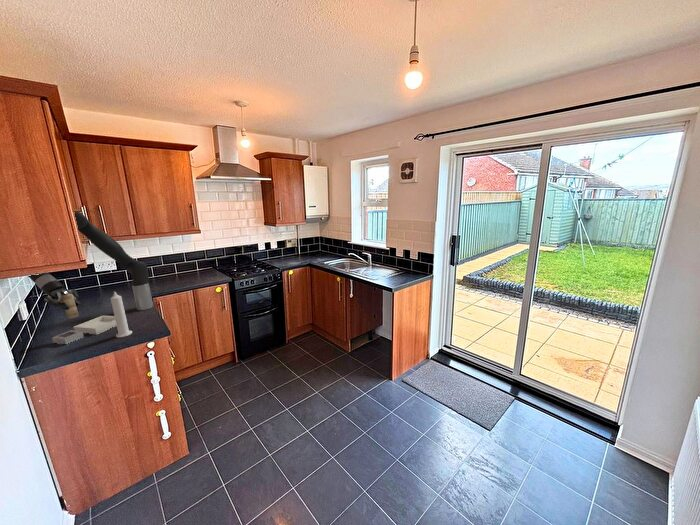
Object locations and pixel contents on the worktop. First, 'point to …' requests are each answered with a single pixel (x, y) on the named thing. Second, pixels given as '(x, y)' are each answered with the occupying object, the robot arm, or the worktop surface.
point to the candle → (120, 316)
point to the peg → (70, 306)
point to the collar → (68, 337)
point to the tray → (97, 325)
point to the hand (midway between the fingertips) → (73, 307)
